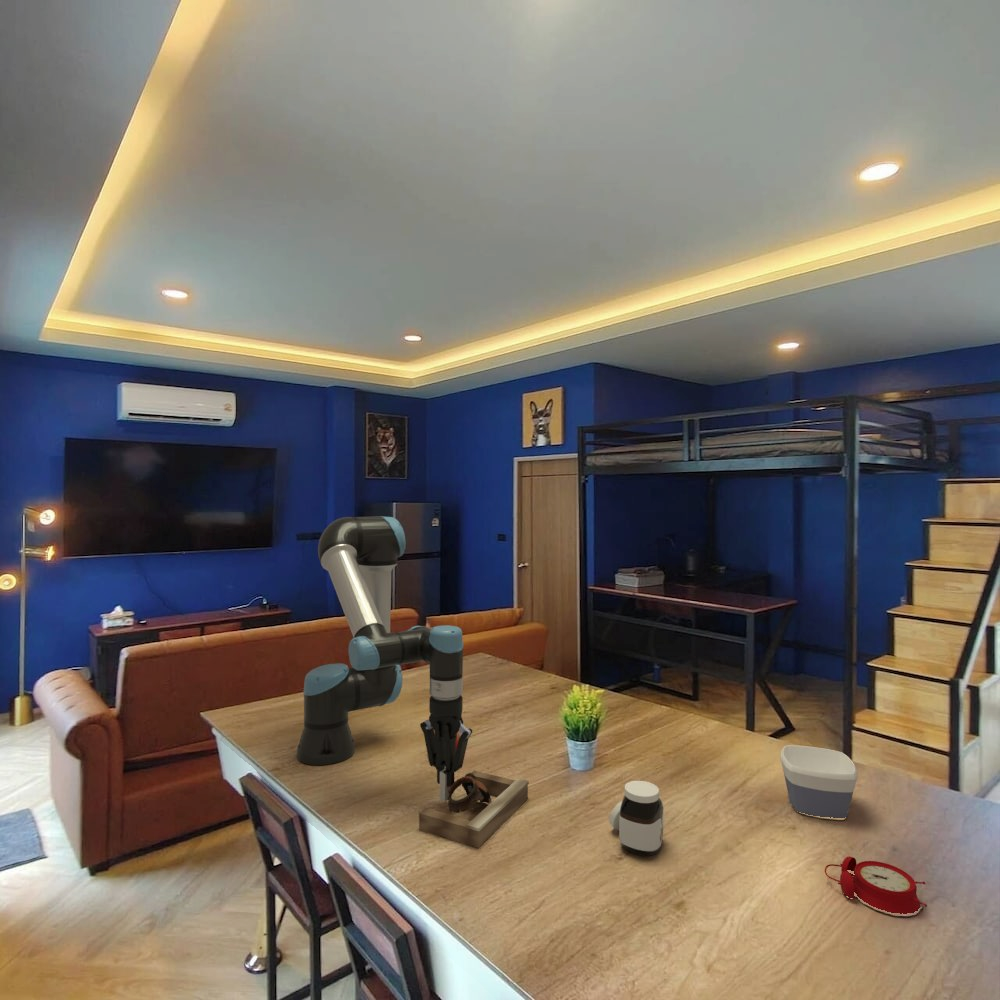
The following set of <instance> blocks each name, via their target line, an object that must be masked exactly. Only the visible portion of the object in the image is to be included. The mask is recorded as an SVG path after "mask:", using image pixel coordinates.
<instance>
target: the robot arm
mask: <svg viewBox="0 0 1000 1000" xmlns="http://www.w3.org/2000/svg"><path fill="white" fill-rule="evenodd" d="M406 544H407V543H406V535H405V531H404V528H403V526H402V524H401V523H400V522H399V520H398V519H396V518H395V517H392V516H382V515H381V516H380V515H379V516H353V517H352V516H343V517H340V518H337V519H335V520H334V521H332V522H331V523H329V524H328V526H327V527H326V528H325V529H324V530H323V532H322V534H321V536H320V537H319V540H318V544H317V545H318V546H317V554H318V559H319V563H320V565H321V567H322V568H323V569H324V570H326V571H327V572H328V575H329V577H330V579H331V582H332V585H333V588H334V590H335V592H336V596H337V598H338V600H339V603H340V605H341V608H342V610H343V614H344V616H345V619H346V621H347V624H348V626H349V629H350V632H351V634H352V637H353V638H352V639H350V641H349V644H348V651H347V652H348V656H349V663H350V665H351V667H349V666H348V665H347V664H345V663H341V662H340V663H337V662H336V663H329V664H328V663H327V664H324V665H321V666H317V667H316V668H313V669H311V670H310V671H308V673H306V675H305V677H304V684H303V720H304V721H303V728H302V729H303V730H302V734H301V735H300V739H299V743H298V745H297V748H296V757H297V760H298V761H299V762H301V763H303V764H306V765H310V766H311V765H312V766H325V765H333V764H337V763H339V762H343V761H345V760H348V759H349V758H351V757H352V756H353V755H354V754H355V751H356V750H355V748H356V747H355V740H354V738H353V735H352V731H351V729H350V725H349V713H351V712H354V711H360V710H365V709H369V708H376V707H382V706H385V705H388V704H391V703H394V702H395V701H396V700H397V699H398V697H399V696H400V694H401V691H402V688H403V673H402V667H401V665H405V664H412V663H417V662H418V663H419V662H424V663H427V664H428V665H429V695H430V697H429V709H428V710H429V713H430V715H429V717H428V719H426V720H424V721H422V722H421V723H420V725H419V726H420V728H421V731H422V733H423V736H424V742H425V746H426V747H425V748H426V753H427V758H428V763H429V766H430V767H434V768H435V770H436V782H437V784H438V785H439V801H440V802H444V803H446V802H447V801H448V799H447V798H448V796H449V795H450V794H449V793H448V790H449V788H450V787H451V785H452V784H453V783H454V782H455V773H456V772H458V771H459V770H460V769H462V768H463V764H464V760H465V757H466V753H467V752H466V750H467V748H468V747H467V746H468V744H469V743H468V741H469V739H470V737H471V735H472V734H473V729H471V728H467V727H466V726H465V725H464V720H463V715H462V714H463V704H464V703H463V696H462V695H463V691H464V689H463V687H464V686H463V681H464V680H463V676H464V675H463V672H464V671H463V670H464V667H463V665H464V640H463V630H462V628H460V627H458V626H456V625H449V624H447V625H436V626H433V627H427V626H424V625H415V626H412V627H410V628H409V629H407V630H404V631H394V632H391V610H392V609H391V608H392V607H391V605H392V600H391V599H392V571H393V569H394V568H395V567H396V566H397V565H398V558H400V557H402V556H404V553H405V550H406ZM459 730H460V733H459V736H460V738H459V740H458V744H457V749H456V739H457V733H458V731H459ZM434 731H435V733H434Z"/></svg>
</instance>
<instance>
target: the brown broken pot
mask: <svg viewBox="0 0 1000 1000" xmlns="http://www.w3.org/2000/svg"><path fill="white" fill-rule="evenodd" d="M460 786H462V789H463V790H464V792H465V794H466V796H464V797H463V798H461V799H453V798H452V797H453V794H454V792H455V791H456V790H457V789H458V788H459V787H460ZM448 793H449V794H450V795H449V796H448V798H447V799H448V800H447V801H448V802H447V807H448V811H449V812H453V813H457V814H458V813H460V812H465V811H468V810H471V811H474V810H475V809H474V804H473V801H478V802H480V803H486V804H488V805H489V804H490V803H491V802H493V800H492V798H491V795H490V794H489V792H488V790H487V788H486V787H485V785H484V784H483V783H481V782H480V781H478V780H476V779H475V776H474V775H473V773H472V772H468V773H466V774H465V775H464V776H462V777H460V778H458V779H456V780H454V783H453V784H452V785H451V787H450V788H449V790H448Z"/></svg>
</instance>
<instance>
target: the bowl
mask: <svg viewBox="0 0 1000 1000" xmlns="http://www.w3.org/2000/svg"><path fill="white" fill-rule="evenodd" d="M780 762H781V766H782V773H783V775H784V780H785V785H786V789H787V795H788V800H789V803H790V805H791V804H792V805H791V806H793V807H794V808H793V807H792V808H793V810H794V809H795V810H796V811H798V812H801V813H805V814H808V815H813V816H820V817H830V818H831V817H833V818H845V817H846V816H847V817H848V813H849V810H850V806H851V803H852V799H853V795H854V790H855V788H856V784H857V780H858V777H859V776H858V769H857V767H856V765H855V763H854V762H853V761H852V759H851V758H850V757H849V756H848V755H846V754H845V753H844V752H842V751H838V750H833V749H829V748H823V747H816V746H809V745H808V746H807V745H795V744H793V745H792V744H791V745H790V744H789V745H788V744H786V745H785V746H783V748H781V751H780ZM795 810H794V811H795ZM796 811H795V812H796ZM798 812H797V813H798ZM847 817H846V818H847Z"/></svg>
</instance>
